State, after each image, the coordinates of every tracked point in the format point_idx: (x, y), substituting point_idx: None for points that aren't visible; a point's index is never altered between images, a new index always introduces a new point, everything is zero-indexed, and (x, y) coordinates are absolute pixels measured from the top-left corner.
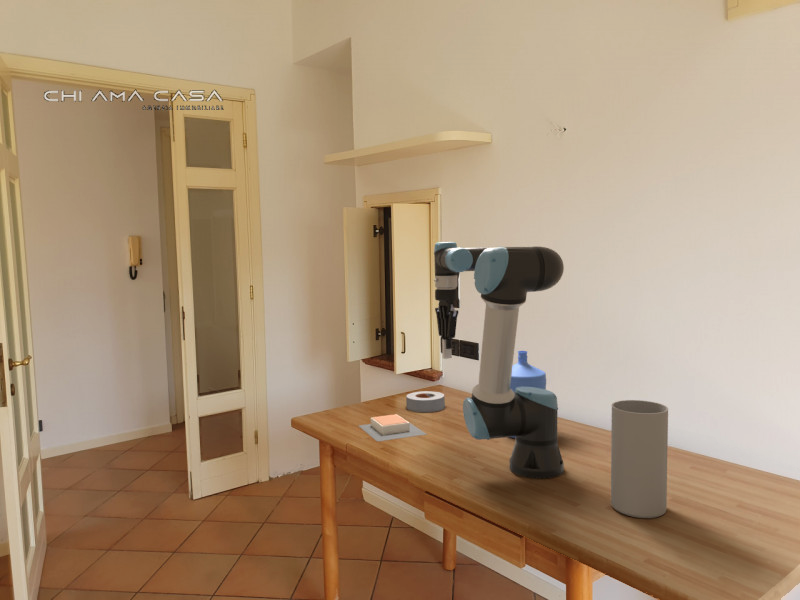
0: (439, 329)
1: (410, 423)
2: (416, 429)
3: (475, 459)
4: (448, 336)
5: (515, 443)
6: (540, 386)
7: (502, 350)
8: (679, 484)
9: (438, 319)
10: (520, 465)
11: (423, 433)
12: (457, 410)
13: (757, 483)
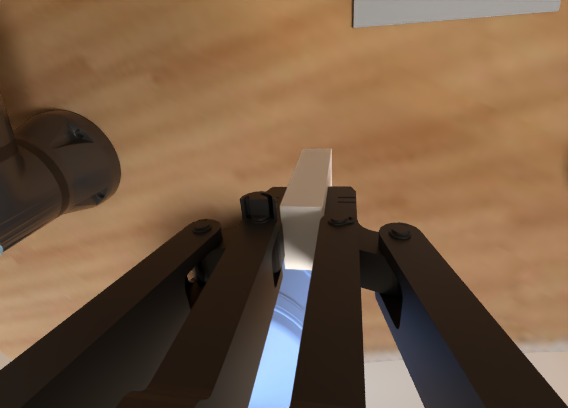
0: (408, 267)
1: (493, 15)
2: (415, 11)
3: (141, 74)
4: (187, 229)
5: (36, 139)
6: None
7: None
8: (17, 287)
9: (484, 402)
10: (28, 119)
11: (365, 19)
12: (536, 220)
13: (23, 347)
